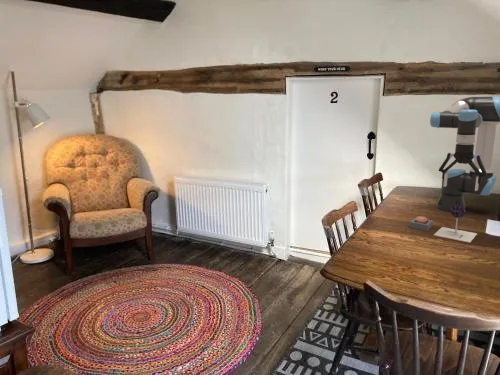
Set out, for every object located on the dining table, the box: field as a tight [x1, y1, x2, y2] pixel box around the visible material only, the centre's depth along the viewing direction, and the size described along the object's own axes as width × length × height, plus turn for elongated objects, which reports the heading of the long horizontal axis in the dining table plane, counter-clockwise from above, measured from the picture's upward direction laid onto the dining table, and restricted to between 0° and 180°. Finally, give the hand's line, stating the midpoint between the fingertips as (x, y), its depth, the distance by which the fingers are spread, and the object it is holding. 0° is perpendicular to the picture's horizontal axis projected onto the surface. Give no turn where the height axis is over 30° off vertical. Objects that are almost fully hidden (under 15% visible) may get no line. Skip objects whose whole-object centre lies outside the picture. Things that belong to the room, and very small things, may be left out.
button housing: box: [408, 217, 434, 232], centre depth 208 cm, size 9×9×3 cm
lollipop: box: [449, 204, 467, 234], centre depth 194 cm, size 7×7×15 cm
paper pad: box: [433, 226, 478, 243], centre depth 196 cm, size 14×16×1 cm
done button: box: [415, 215, 428, 224], centre depth 207 cm, size 5×5×3 cm
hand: (460, 188), depth 190 cm, fingers open, 13 cm apart
